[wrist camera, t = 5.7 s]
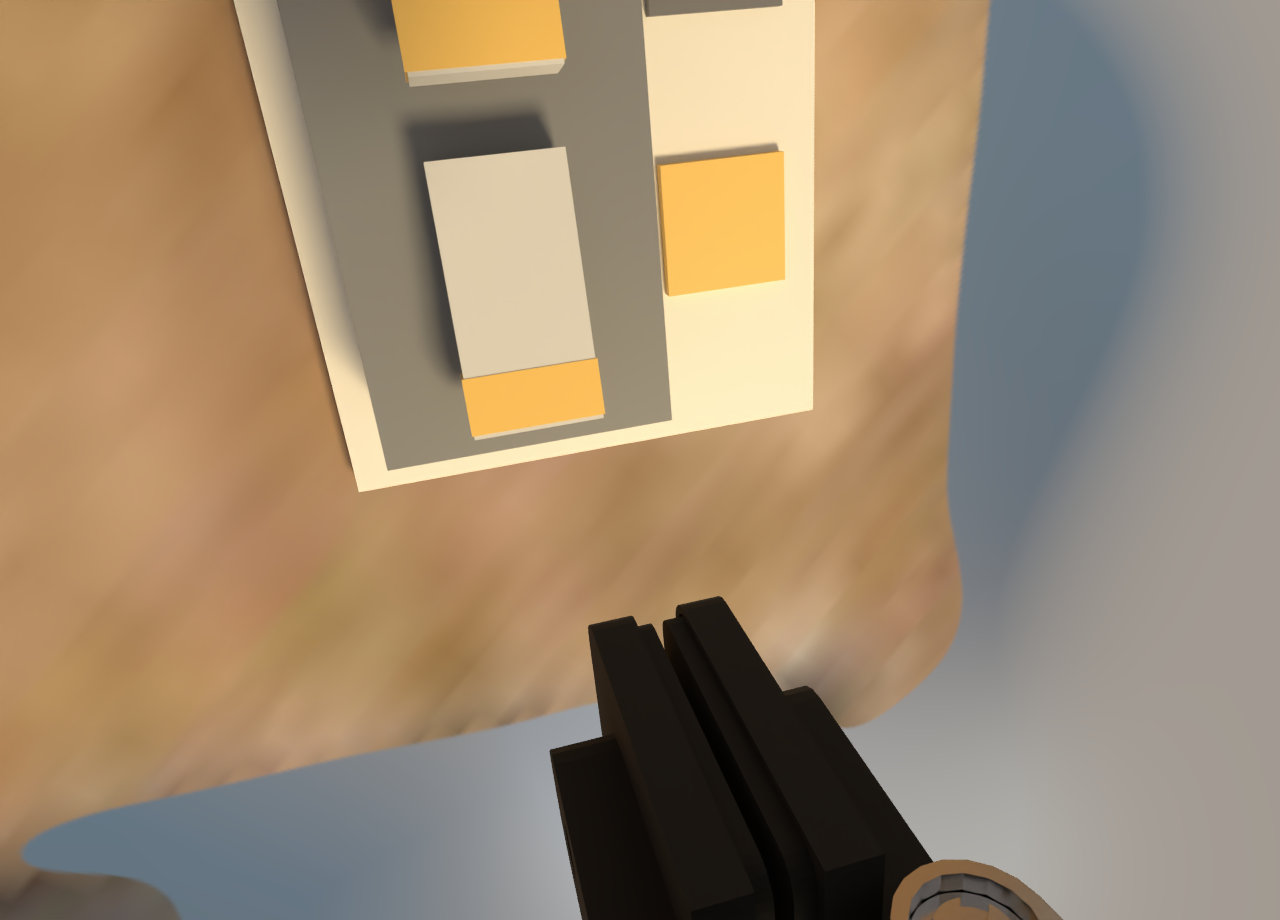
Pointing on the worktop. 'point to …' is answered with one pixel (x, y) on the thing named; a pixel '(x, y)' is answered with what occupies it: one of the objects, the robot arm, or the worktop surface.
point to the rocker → (516, 290)
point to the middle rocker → (478, 39)
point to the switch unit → (603, 203)
